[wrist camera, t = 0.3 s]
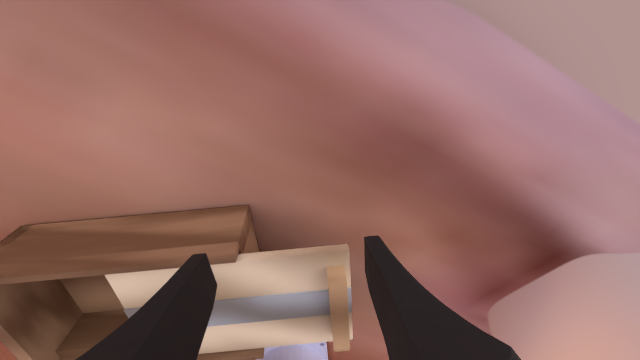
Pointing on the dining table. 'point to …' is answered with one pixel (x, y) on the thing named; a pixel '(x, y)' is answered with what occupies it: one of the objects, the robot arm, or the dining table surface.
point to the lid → (265, 298)
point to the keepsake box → (103, 274)
